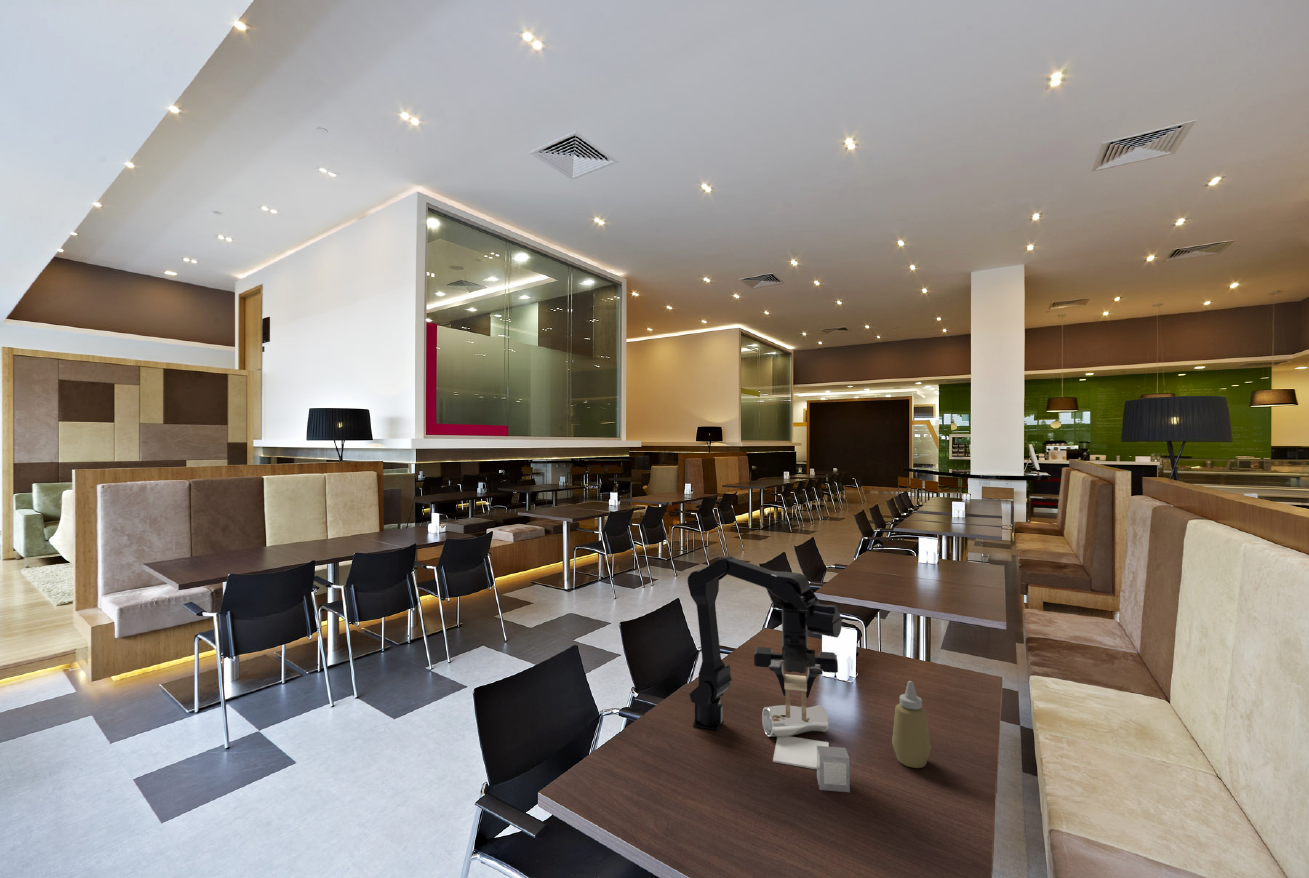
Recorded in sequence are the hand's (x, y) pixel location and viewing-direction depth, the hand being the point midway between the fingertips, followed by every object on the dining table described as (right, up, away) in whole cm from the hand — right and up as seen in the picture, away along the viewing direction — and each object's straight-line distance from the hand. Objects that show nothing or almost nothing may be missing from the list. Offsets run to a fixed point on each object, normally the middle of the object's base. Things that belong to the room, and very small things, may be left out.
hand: (795, 696), depth 129 cm
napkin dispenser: (+5, -13, -12) cm, 19 cm away
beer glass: (+10, -11, +11) cm, 18 cm away
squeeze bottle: (+25, -14, -3) cm, 29 cm away
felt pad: (+1, -13, 0) cm, 13 cm away
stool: (0, -4, 0) cm, 4 cm away
